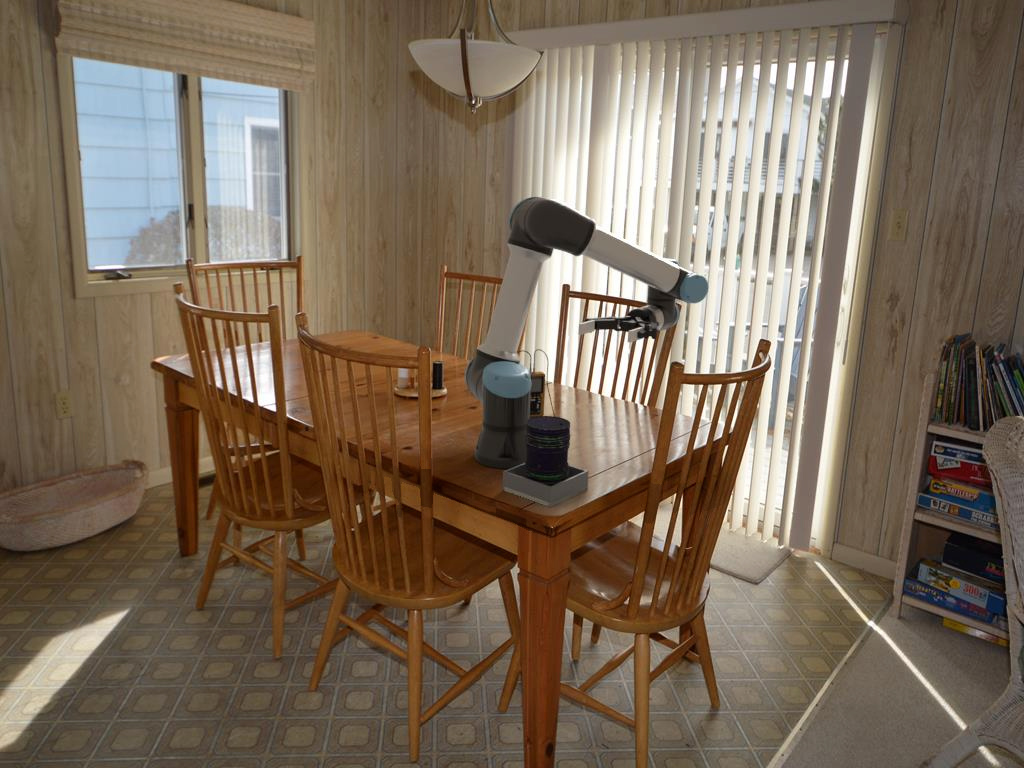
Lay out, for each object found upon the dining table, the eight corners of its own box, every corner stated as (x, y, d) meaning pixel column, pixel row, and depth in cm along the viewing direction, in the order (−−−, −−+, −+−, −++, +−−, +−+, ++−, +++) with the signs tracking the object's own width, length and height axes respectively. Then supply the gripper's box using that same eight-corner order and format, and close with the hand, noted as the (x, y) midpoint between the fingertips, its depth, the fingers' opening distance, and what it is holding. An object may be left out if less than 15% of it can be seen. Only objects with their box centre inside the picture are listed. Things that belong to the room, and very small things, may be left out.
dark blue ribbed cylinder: (518, 490, 173) (520, 426, 169) (530, 475, 182) (532, 413, 178) (562, 497, 170) (565, 431, 166) (572, 481, 179) (575, 418, 175)
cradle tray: (502, 490, 175) (503, 471, 174) (540, 474, 185) (541, 456, 184) (550, 507, 167) (551, 487, 166) (587, 489, 177) (588, 471, 176)
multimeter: (514, 426, 220) (516, 357, 215) (505, 416, 229) (507, 349, 224) (564, 423, 224) (567, 355, 219) (553, 413, 233) (555, 347, 228)
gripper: (687, 341, 200) (649, 355, 183) (601, 329, 214) (559, 340, 197) (689, 312, 198) (652, 324, 181) (603, 301, 212) (561, 311, 195)
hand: (604, 332), depth 189 cm, fingers open, 13 cm apart
